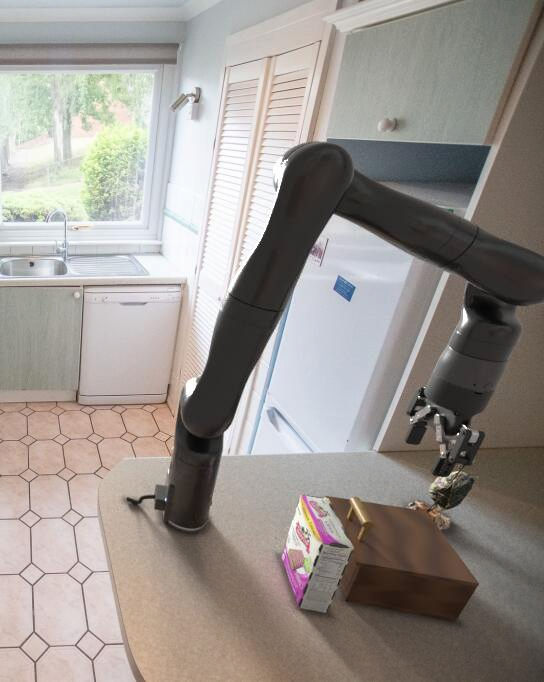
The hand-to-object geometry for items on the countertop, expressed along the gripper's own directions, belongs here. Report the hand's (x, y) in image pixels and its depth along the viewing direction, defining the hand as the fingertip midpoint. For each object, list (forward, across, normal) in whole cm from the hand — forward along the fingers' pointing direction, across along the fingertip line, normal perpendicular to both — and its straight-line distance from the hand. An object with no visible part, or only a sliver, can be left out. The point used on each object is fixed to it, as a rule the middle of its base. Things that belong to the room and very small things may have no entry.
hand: (424, 458), depth 78 cm
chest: (+25, +3, 0) cm, 25 cm away
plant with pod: (+25, -15, +17) cm, 33 cm away
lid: (+16, +3, -1) cm, 16 cm away
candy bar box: (+25, +9, -16) cm, 31 cm away
